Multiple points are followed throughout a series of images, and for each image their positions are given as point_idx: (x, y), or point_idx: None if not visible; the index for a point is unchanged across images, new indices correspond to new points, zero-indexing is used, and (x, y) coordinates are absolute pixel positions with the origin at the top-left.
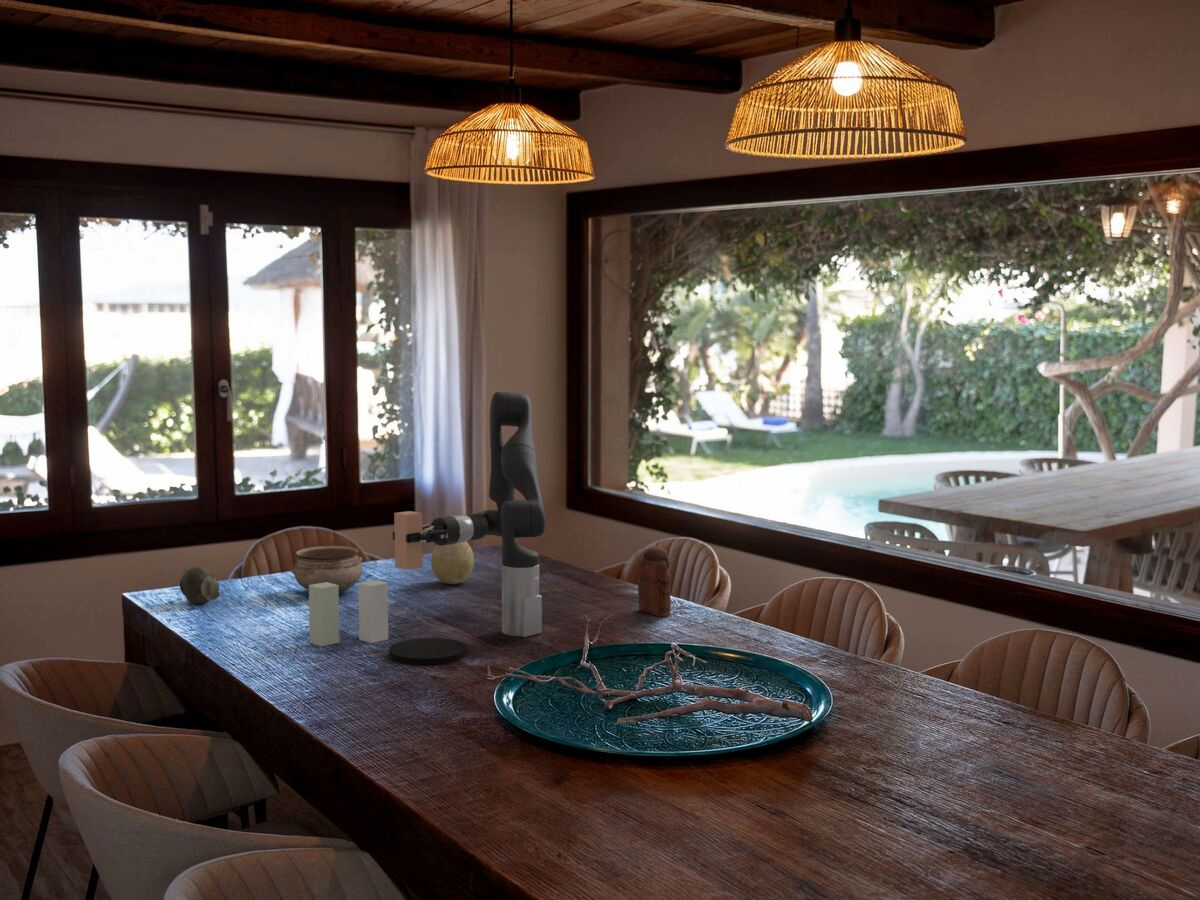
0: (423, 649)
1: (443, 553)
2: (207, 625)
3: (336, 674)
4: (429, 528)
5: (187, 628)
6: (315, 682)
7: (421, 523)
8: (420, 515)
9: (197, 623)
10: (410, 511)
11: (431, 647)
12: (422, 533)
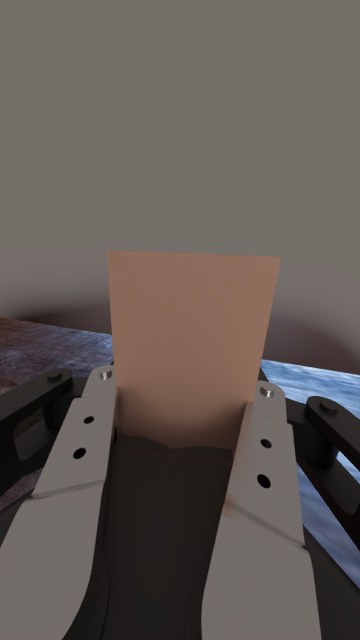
0: (38, 412)
1: None
2: (320, 382)
3: (108, 361)
4: (75, 431)
5: (312, 372)
6: (112, 351)
7: (114, 330)
8: (116, 269)
9: (333, 382)
10: (249, 256)
11: (27, 423)
12: (96, 373)
